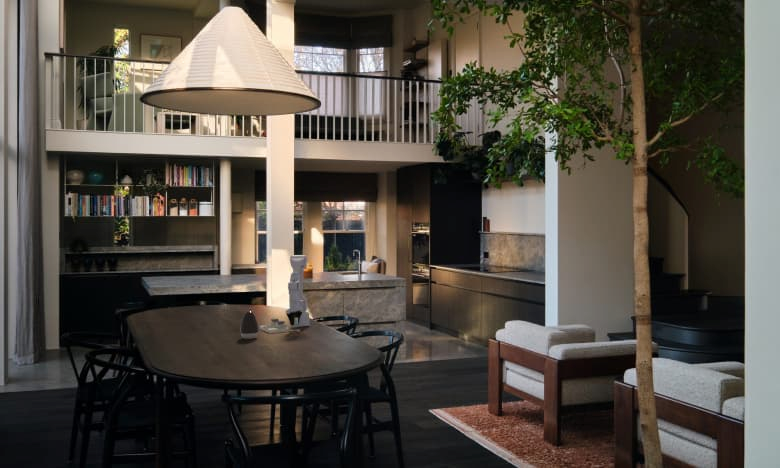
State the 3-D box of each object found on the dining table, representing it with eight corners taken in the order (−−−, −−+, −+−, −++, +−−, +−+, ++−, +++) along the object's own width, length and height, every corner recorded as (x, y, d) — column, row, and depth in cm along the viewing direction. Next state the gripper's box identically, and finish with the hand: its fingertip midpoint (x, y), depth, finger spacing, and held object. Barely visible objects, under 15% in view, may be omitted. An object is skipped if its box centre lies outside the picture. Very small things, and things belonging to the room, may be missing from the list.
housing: (278, 327, 434) (278, 320, 433) (289, 331, 417) (289, 324, 417) (259, 329, 428) (259, 322, 428) (269, 333, 411) (269, 326, 411)
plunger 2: (282, 325, 421) (282, 320, 421) (284, 326, 418) (284, 321, 418) (277, 326, 420) (276, 321, 420) (278, 326, 417) (278, 321, 417)
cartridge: (293, 326, 421) (292, 317, 421) (299, 326, 419) (299, 317, 419) (289, 327, 417) (288, 318, 417) (295, 327, 415) (295, 318, 415)
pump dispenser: (261, 336, 400) (260, 310, 399) (255, 340, 389) (255, 312, 389) (243, 336, 401) (243, 310, 400) (237, 339, 390) (237, 312, 390)
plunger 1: (276, 323, 431) (276, 318, 431) (278, 324, 428) (278, 319, 428) (271, 323, 430) (271, 318, 429) (273, 324, 426) (272, 319, 426)
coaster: (297, 329, 423) (297, 329, 423) (301, 331, 417) (301, 330, 417) (287, 330, 420) (287, 329, 420) (291, 332, 414) (291, 331, 414)
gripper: (295, 300, 426) (296, 322, 427) (281, 302, 413) (281, 325, 414) (305, 300, 423) (305, 323, 423) (291, 303, 410) (291, 326, 410)
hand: (294, 324), depth 418 cm, fingers closed on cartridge, 4 cm apart
